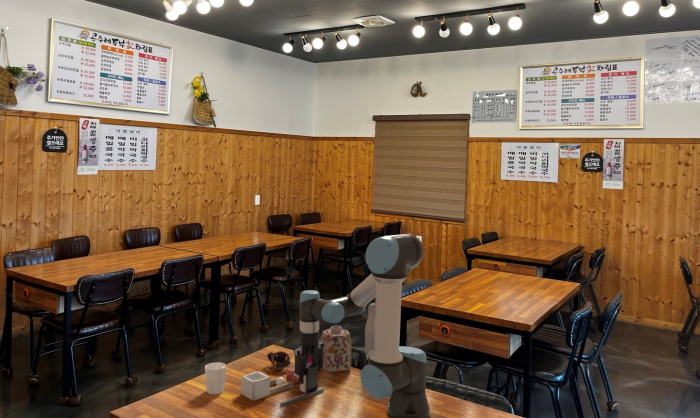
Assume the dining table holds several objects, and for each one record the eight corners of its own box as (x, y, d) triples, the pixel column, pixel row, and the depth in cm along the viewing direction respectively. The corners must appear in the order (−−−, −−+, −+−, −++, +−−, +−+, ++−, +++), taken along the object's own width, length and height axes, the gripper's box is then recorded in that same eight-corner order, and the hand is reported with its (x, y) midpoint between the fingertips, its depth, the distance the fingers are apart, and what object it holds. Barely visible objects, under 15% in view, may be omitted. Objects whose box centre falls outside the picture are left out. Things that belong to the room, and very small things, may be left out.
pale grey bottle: (381, 360, 240) (382, 299, 238) (390, 367, 230) (391, 305, 228) (361, 362, 236) (362, 301, 235) (368, 370, 227) (370, 306, 225)
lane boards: (293, 386, 208) (293, 382, 208) (269, 395, 200) (269, 389, 200) (281, 380, 213) (281, 376, 213) (257, 388, 206) (257, 383, 205)
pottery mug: (295, 366, 231) (295, 354, 227) (283, 381, 224) (282, 369, 220) (273, 355, 236) (272, 343, 231) (260, 370, 229) (259, 357, 224)
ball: (286, 386, 208) (286, 377, 208) (279, 388, 206) (279, 379, 205) (281, 383, 211) (281, 375, 210) (274, 386, 208) (274, 377, 208)
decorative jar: (351, 371, 226) (352, 330, 224) (324, 373, 223) (325, 331, 222) (345, 361, 237) (345, 322, 236) (320, 363, 234) (320, 323, 233)
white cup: (200, 392, 201) (200, 367, 200) (214, 385, 208) (214, 360, 207) (216, 397, 197) (216, 371, 197) (230, 389, 204) (230, 364, 204)
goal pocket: (270, 394, 200) (270, 377, 199) (253, 400, 195) (253, 382, 194) (258, 388, 206) (258, 371, 205) (241, 393, 200) (241, 376, 200)
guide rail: (323, 391, 204) (323, 388, 204) (282, 406, 190) (282, 403, 190) (321, 390, 205) (321, 387, 205) (280, 405, 191) (280, 402, 191)
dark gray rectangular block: (317, 390, 204) (318, 365, 203) (307, 394, 201) (308, 368, 200) (293, 379, 215) (293, 355, 214) (283, 382, 212) (283, 358, 211)
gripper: (320, 324, 211) (320, 380, 213) (284, 333, 199) (284, 392, 200) (333, 328, 206) (332, 385, 208) (296, 337, 194) (296, 398, 195)
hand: (308, 389), depth 204 cm, fingers closed on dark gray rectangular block, 5 cm apart
